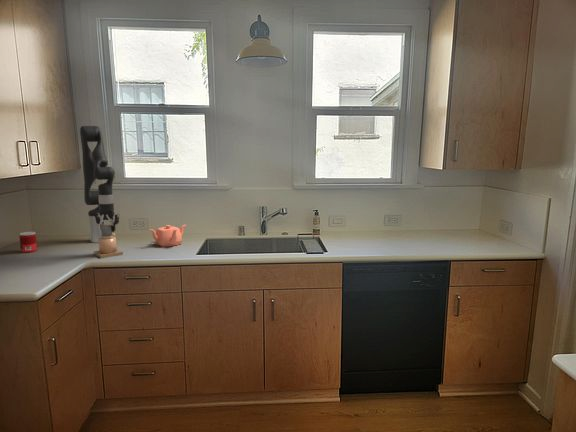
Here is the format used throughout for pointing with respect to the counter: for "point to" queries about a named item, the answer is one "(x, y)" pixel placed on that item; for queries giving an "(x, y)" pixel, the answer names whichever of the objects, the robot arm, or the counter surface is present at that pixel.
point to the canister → (107, 247)
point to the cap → (106, 230)
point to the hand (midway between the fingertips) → (108, 231)
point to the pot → (168, 235)
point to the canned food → (28, 242)
